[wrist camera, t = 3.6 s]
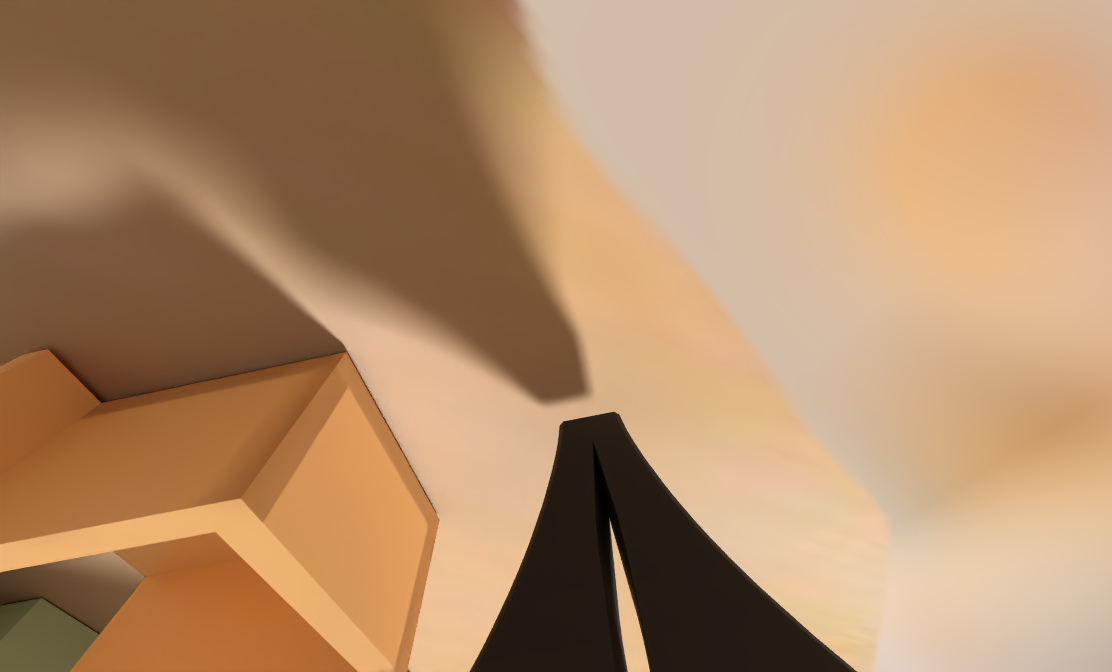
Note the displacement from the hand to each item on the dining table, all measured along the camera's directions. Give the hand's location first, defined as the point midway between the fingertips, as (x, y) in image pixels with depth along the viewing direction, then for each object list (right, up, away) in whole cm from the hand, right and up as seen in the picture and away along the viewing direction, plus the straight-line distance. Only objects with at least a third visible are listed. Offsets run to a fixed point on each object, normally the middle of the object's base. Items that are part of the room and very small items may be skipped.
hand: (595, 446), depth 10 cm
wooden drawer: (-10, -1, +2) cm, 10 cm away
